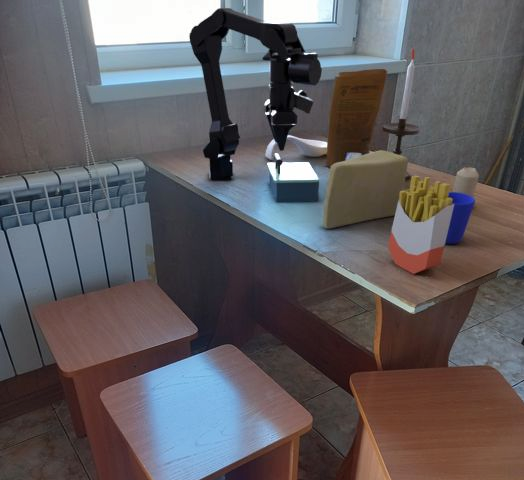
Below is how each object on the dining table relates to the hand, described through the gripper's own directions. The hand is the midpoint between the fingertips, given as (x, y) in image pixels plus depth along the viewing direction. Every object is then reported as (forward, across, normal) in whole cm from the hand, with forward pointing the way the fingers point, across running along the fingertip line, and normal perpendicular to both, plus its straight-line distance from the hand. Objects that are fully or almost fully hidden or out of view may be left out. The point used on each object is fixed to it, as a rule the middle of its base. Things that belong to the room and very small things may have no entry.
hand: (279, 146), depth 139 cm
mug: (+13, -36, -33) cm, 51 cm away
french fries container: (+13, -49, -22) cm, 55 cm away
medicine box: (+13, +4, -22) cm, 26 cm away
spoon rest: (+13, +37, -12) cm, 41 cm away
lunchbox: (+13, 0, -4) cm, 13 cm away
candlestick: (+13, +13, -38) cm, 42 cm away
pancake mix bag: (+13, +26, -27) cm, 40 cm away
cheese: (+13, -22, -17) cm, 31 cm away
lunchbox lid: (+7, 0, -4) cm, 8 cm away
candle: (+13, -14, -48) cm, 52 cm away
